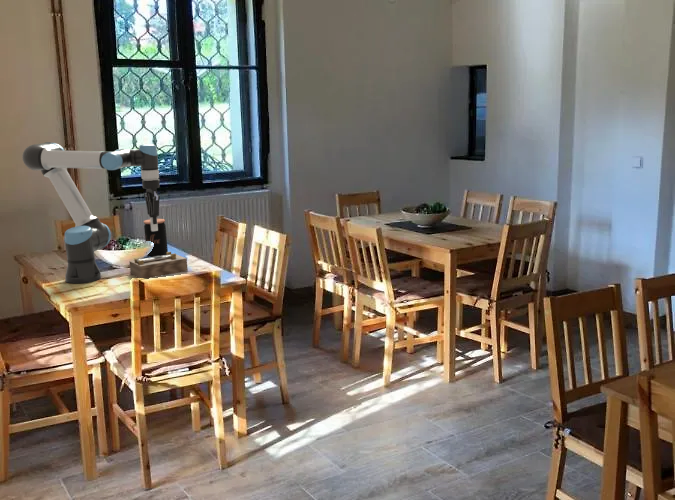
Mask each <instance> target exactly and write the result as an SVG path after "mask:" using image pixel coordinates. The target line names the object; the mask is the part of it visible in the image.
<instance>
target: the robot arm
mask: <svg viewBox="0 0 675 500" xmlns="http://www.w3.org/2000/svg"><path fill="white" fill-rule="evenodd" d="M138 147H139V148H137V149H134V148H130V149H127V148H121V149H119V148H118V149H116V150H114V151H100V150H99V151H97V150H95V151H93V150H66V149H65V148H63V146H61V145H60V144H58V143H56V142H44V143H43V142H42V143H34V144H30V145H29V146H27V147H25V149H24V151H23V152H22V162H23V164H24V165H25V166H26V167H27V168H28V169H30V170H32V171H40V172H41V173H42V175H43V177H45V178H48V179H49V181H50V182H51V184H52V186H53V187H54V189H55V191H56V193H57V195H58V197H59V198H60V200H61V201H62V203H63V205H64V207H65V209H66V210H67V212H68V213H69V215H70V217H71V219H72V221H73V222H74V224H75V226H72V227H71V228H68V229H66V231H64V238H63V239H64V240H63V241H64V244H65V252H66V254H65V255H66V259H67V260H66V261H67V266H66V270H65V276H64V278H65V283H67V284H86V283H92V282H95V281H98V280H100V279H101V278H102V275H101V271H100V269H99V266H98V264H97V262H96V258H95V252H96V251H99V250H102V249H104V248H105V247H106V246H108V245H109V243H110V242H111V239H112V232H111V229H110V228H109V226H108V225H107V224H105V223H103V222H101V220H100V218H99V217H98V216H94V215H93V213H92V212H91V210H90V208H89V206H88V204H87V203H86V201H85V200H84V198H83V196H82V194H81V192H80V191H79V189H78V188H77V185H76V183H75V182H74V180H73V179H72V177H71V174H70V173H69V172H68V169H99V170H107V171H116V170H119V169H123V168H126V167H140V170H141V171H140V175H141V179H142V180H141V185H142V188H143V189H145V193H144V194H143V196H144V199H145V205H146V210H147V215H148V216H149V219H150V223H151V231H158V224H157V219H158V217H159V216H160V199H161V196H160V195H158V190H157V189H159V188H160V179H159V178H160V171H159V159H158V157H159V155H158V149H157V148H158V147H157V146H156V145H155V144H140V145H139V146H138Z"/></svg>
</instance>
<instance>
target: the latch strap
mask: <svg viewBox="0 0 675 500" xmlns="http://www.w3.org/2000/svg"><path fill="white" fill-rule="evenodd" d="M171 254H172V253H171ZM171 254H170V255H164V256H160V255H159V256H153V257H152V258H151V257H147V258H146V259H145V258H141V259H140V258H139V259H140V260H143V262H147V261H153V260H159V259H165V258H171ZM139 259H137V260H136V262H138V261H139Z"/></svg>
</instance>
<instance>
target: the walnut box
mask: <svg viewBox="0 0 675 500" xmlns="http://www.w3.org/2000/svg"><path fill="white" fill-rule="evenodd" d="M166 254H167V255H170V254H171V258H165V259H159V260H153V261H147V262H143V260H140V258H139V257H138V258H134V259H132V260H129V269H130V270H129V271H130V275H132V276H135V277H136V278H138V277H140V278H147V279H151V278H150V277H152V278H156V277H155V276H158V277H162V276H161V275H163V276H167V275H174V274H179V273H185V272H188V259H187V258H186V257H184V256H182V255H179V254H177V253H175V252H174V253H172V251H168V252H166ZM163 256H164V255H163ZM150 258H152V257H150ZM137 259H139V261H138V262H136V260H137ZM144 259H146V258H144ZM140 278H139V279H140Z"/></svg>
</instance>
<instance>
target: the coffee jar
mask: <svg viewBox="0 0 675 500" xmlns="http://www.w3.org/2000/svg"><path fill="white" fill-rule="evenodd" d="M143 224H144V226H143V230H144V241H145V242H146V241H151V242H153V243H154V247H153V249H152V251H151V252H150V253H149V254H148V255H147V257H149V256H150V257H149V258H151V257H153V256H159V255H160V256H163V255H167V254H166V252H169V249H168V237H167V228H166V220H165V219H164V218H157V224H158V231H151V223H150V218H149V219H145V220H143Z"/></svg>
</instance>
